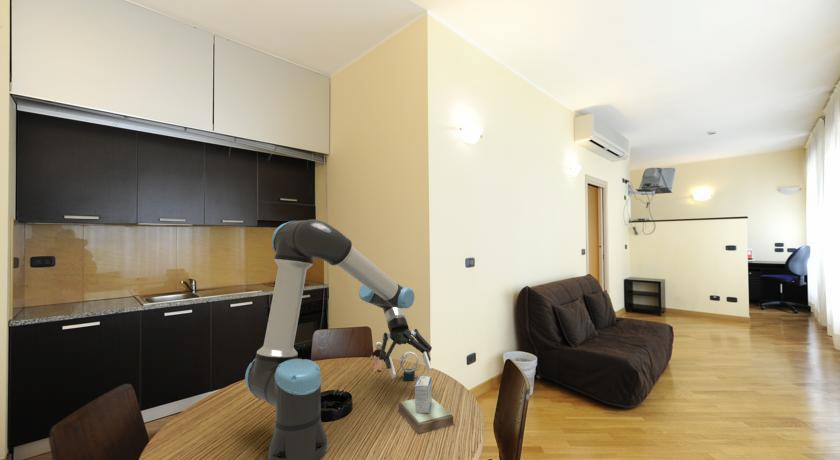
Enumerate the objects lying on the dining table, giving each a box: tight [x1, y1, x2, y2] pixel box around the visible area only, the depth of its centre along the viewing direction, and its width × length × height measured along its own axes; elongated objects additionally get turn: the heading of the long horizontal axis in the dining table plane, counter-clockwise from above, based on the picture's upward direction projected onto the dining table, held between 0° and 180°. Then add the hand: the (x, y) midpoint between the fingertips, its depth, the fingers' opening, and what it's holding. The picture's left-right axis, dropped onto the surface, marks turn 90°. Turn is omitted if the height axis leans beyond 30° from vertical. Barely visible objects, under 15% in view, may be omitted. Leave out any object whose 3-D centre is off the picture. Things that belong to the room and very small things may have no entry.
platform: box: [398, 397, 454, 435], centre depth 112 cm, size 12×16×3 cm
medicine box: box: [414, 375, 433, 413], centre depth 113 cm, size 8×4×9 cm, turn 172°
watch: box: [398, 351, 419, 383], centre depth 145 cm, size 6×8×11 cm
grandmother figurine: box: [369, 341, 387, 373], centre depth 155 cm, size 8×4×13 cm, turn 119°
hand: (412, 373), depth 122 cm, fingers open, 13 cm apart
